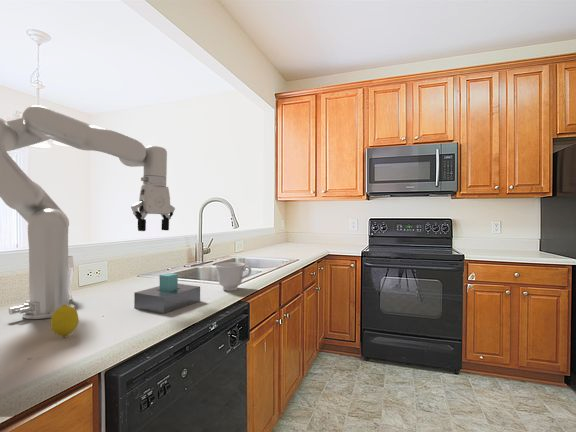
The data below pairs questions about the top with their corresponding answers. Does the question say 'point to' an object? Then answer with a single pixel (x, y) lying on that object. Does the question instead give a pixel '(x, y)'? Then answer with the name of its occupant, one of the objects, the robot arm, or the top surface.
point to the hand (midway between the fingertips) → (153, 230)
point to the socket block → (166, 298)
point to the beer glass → (70, 275)
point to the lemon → (64, 320)
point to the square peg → (168, 282)
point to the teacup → (231, 274)
